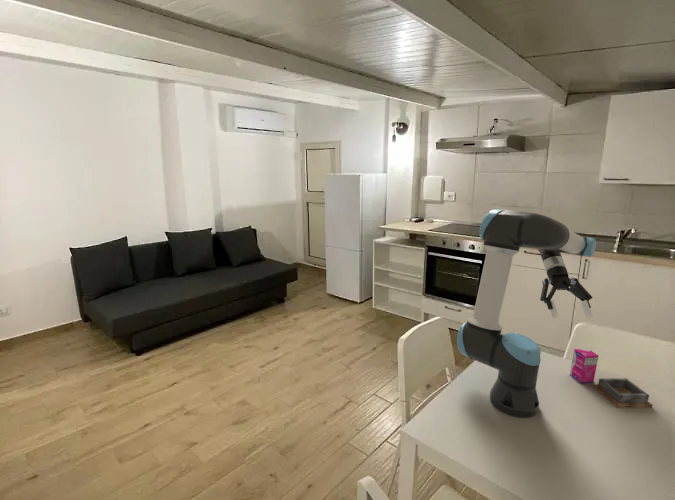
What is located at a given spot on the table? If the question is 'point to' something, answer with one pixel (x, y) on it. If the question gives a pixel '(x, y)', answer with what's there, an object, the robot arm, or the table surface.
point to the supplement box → (584, 365)
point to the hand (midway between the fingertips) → (572, 316)
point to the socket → (623, 393)
